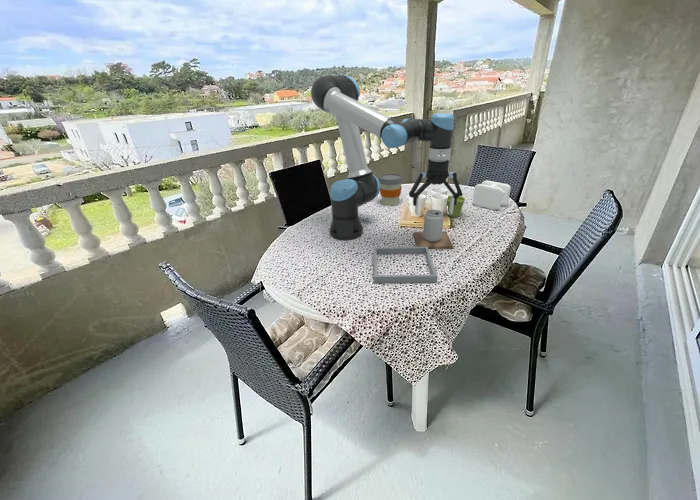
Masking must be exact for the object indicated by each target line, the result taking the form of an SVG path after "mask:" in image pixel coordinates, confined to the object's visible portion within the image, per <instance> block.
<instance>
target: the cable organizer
mask: <svg viewBox="0 0 700 500" xmlns="http://www.w3.org/2000/svg"><path fill="white" fill-rule="evenodd" d="M510 193H511V185H509V184H508V183H502V182H498V181H492V180H487V179H486V180H483V181H482V182H481V183H477V184H476V185H475V186H474V190H473V198H472V203H473V204H474V205H475V206H477V207H478V206H479V208H485V209H488V210H491V211H497V210H499V209H500V208H501V207H502V206H505V205H508V203H509V199H510Z"/></svg>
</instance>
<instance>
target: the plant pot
mask: <svg viewBox="0 0 700 500" xmlns="http://www.w3.org/2000/svg"><path fill="white" fill-rule="evenodd" d="M451 196H452V195H448V200H447V205H446V207H447V206H448V212H449V208H450V200H451ZM465 201H466V198H465V197H464V196H459V197H458V198H457V203H456V205H454V206H453V214H450V212H449V215H450V216H451V217H450V218H458V217H460V216H461V212H462V210H463V209H462V208H463V206H464V203H465Z"/></svg>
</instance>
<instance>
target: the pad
mask: <svg viewBox="0 0 700 500" xmlns="http://www.w3.org/2000/svg"><path fill="white" fill-rule="evenodd" d="M412 235H413V237H414V241H415V245H416V246H415V247H428V249H429V250H454V244H453V243H452V241H451V239H450V237H449V235H448V233H447V231H445V230H444V231H443V230H442V238H441V239H440V240H439V241H436V242H430V241H427V240H425V238H424V237H423V231H413V234H412Z"/></svg>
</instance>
